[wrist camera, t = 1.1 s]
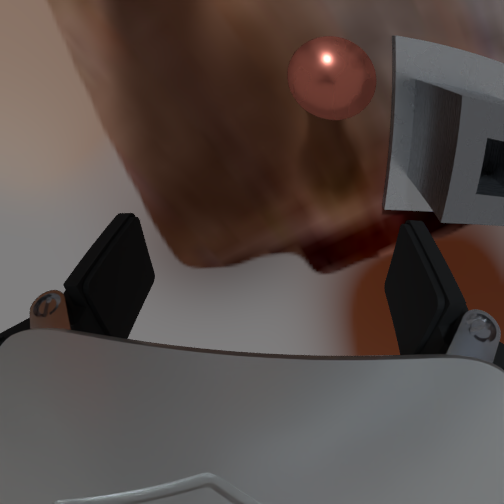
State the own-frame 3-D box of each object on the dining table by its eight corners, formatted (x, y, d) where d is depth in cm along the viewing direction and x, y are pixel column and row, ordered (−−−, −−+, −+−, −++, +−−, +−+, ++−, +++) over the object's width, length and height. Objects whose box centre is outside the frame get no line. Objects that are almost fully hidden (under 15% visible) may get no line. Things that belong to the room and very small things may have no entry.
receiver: (392, 35, 21) (438, 33, 13) (506, 65, 19) (568, 84, 11) (382, 205, 31) (408, 263, 23) (483, 210, 29) (523, 262, 22)
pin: (286, 41, 23) (284, 35, 15) (348, 42, 22) (375, 40, 14) (289, 98, 26) (289, 119, 18) (349, 99, 25) (375, 122, 18)
